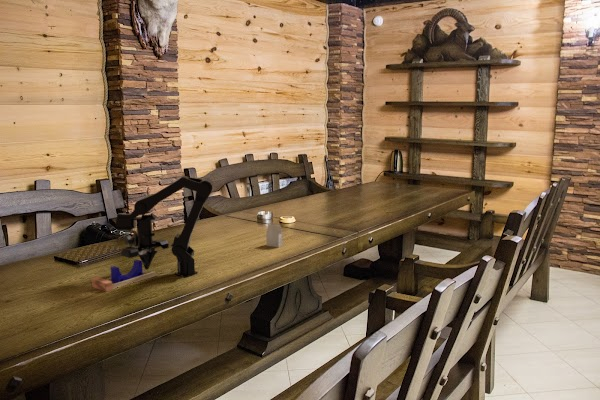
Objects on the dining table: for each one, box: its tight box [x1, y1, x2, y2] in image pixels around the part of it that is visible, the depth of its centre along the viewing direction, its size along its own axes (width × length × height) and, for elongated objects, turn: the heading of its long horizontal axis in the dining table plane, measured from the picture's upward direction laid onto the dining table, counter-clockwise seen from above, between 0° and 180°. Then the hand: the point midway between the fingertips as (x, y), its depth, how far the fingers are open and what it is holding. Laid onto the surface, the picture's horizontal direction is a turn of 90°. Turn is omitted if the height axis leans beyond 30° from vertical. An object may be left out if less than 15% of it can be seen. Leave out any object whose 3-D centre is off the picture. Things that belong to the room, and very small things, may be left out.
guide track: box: [91, 267, 157, 292], centre depth 207 cm, size 9×22×3 cm, turn 144°
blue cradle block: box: [110, 259, 144, 284], centre depth 209 cm, size 12×4×6 cm, turn 144°
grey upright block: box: [265, 223, 284, 248], centre depth 258 cm, size 4×7×10 cm, turn 61°
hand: (146, 269), depth 215 cm, fingers closed
